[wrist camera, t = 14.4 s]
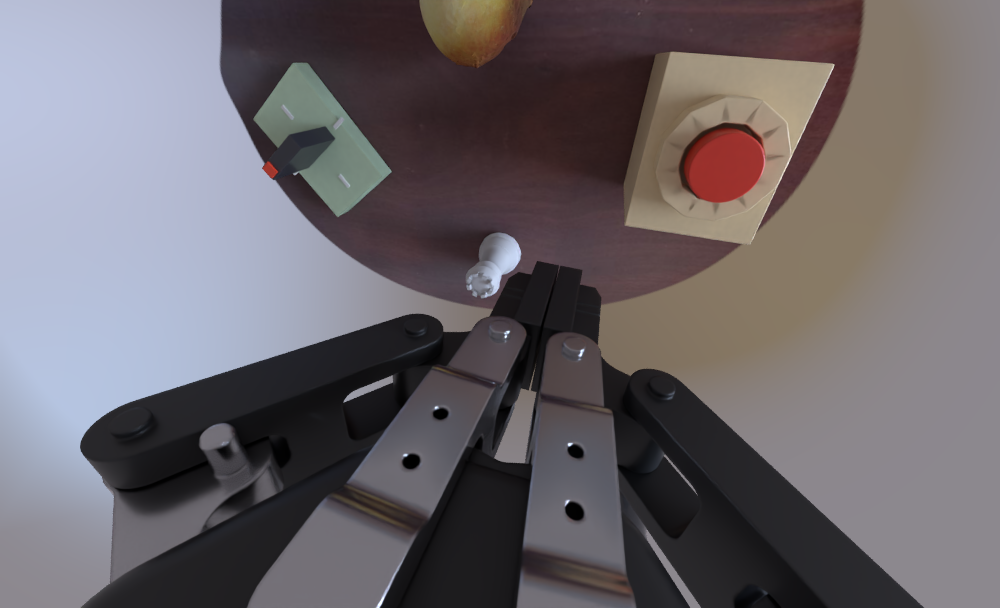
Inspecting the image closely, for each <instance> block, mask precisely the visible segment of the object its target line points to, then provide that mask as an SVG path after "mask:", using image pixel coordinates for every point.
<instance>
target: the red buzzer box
mask: <svg viewBox="0 0 1000 608" xmlns="http://www.w3.org/2000/svg"><path fill="white" fill-rule="evenodd" d="M833 67H834V64H829V63H815V62H802V61H789V60H775V59H762V58H749V57H736V56H722V55H709V54H696V53H683V52H665V53H658V54H656V55H655V59H654V63H653V67H652V71H651V76H650V80H649V84H648V88H647V92H646V96H645V100H644V104H643V108H642V112H641V116H640V120H639V124H638V128H637V133H636V137H635V141H634V145H633V149H632V153H631V157H630V161H629V165H628V169H627V173H626V177H625V181H624V222H625V226H631V227H638V228H644V229H651V230H657V231H663V232H670V233H676V234H683V235H689V236H695V237H702V238H708V239H715V240H721V241H727V242H734V243H740V244H747V245H750V244H751V242H752V240H753V238H754V235H755V233H756V231H757V229H758V227H759V225H760V223H761V221H762V218H763V216H764V214H765V212H766V210H767V208H768V206H769V204H770V201H771V199H772V197H773V195H774V193H775V191H776V189H777V186H778V184H779V182H780V180H781V178H782V176H783V174H784V172H785V169H786V167H787V165H788V163H789V161H790V159H791V157H792V155H793V152H794V150H795V148H796V146H797V144H798V142H799V140H800V137H801V135H802V133H803V131H804V129H805V127H806V125H807V123H808V120H809V118H810V116H811V114H812V112H813V110H814V108H815V106H816V103H817V101H818V99H819V97H820V95H821V93H822V91H823V89H824V86H825V84H826V82H827V80H828V78H829V76H830V74H831V71H832V69H833ZM722 128H734V129H738V130H741V131H743V132H745V133H747V134H748V135H750V136H752V137H753V138H755V139H756V140H757V141H758V142H759V143H760V145H761V146H762V148H763V150H764V154H765V166H764V170H763V173H762V175H761V177H760V179H759V180H758V182H757V183H756V184H755V186H754V187H753V188H752V189H751V190H750V191H748V192H747V193H746V194H744V195H743V196H741V197H739V198H737V199H735V200H732V201H728V202H723V203H713V202H708V201H705V200H703V199H701V198H699V197H698V196H697V195H696V194H695V193H694V192H693V191H692V189H691V188H690V186H689V184H688V182H687V180H686V178H685V174H684V163H685V159H686V156H687V154H688V152H689V150H690V149H691V147H692V146H693V145H694V144H695V143H696V142H697V141H698V140H699V139H700V138H701V137H703V136H704V135H706V134H707V133H709V132H712V131H714V130H717V129H722Z"/></svg>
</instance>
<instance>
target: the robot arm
mask: <svg viewBox="0 0 1000 608" xmlns="http://www.w3.org/2000/svg"><path fill="white" fill-rule="evenodd" d="M558 268H559V265H554V264H549V263H544V262H539V261H537V263H536V265H535V268H534V270H533V272H532V275H530V274H525V273H521V272H518V273H516V274H515V275H513V276H512V277H510V278H509V279H508V281H507V283H506V285H505V287H504V289H503V291H502V293H501V295H500V297H499V299H498V301H497V303H496V305H495V307H494V309H493V311H492V313H491V315H490V316H489V317H486V318H483V319H481V320H480V321H478V322H477V323H476V324H475V326H474V327H473V329H472V330H471V331H468V332H443V326H442V324H441V322H440V321H439V320H438V319H436V318H434V317H432V316H429V315H425V314H409V315H405V316H402V317H399V318H395V319H392V320H389V321H386V322H383V323H380V324H376V325H373V326H370V327H367V328H364V329H361V330H357V331H354V332H351V333H348V334H345V335H342V336H338V337H335V338H332V339H329V340H326V341H323V342H319V343H317V344H313V345H310V346H307V347H304V348H300V349H297V350H294V351H291V352H288V353H285V354H282V355H278V356H275V357H272V358H269V359H266V360H263V361H259V362H256V363H253V364H250V365H247V366H244V367H240V368H237V369H234V370H231V371H228V372H225V373H221V374H218V375H215V376H212V377H209V378H205V379H202V380H199V381H196V382H193V383H190V384H187V385H184V386H180V387H177V388H174V389H171V390H168V391H164V392H161V393H158V394H155V395H152V396H148V397H145V398H142V399H139V400H136V401H133V402H130V403H127V404H125V405H123V406H120V407H118V408H116V409H114V410H113V411H111V412H109V413H107V414H106V415H104V416H103V417H101V418H100V419H99V420H98V421H96V422H95V423H94V424H93V425H92V426H91V427H90V428H89V429H88V430H87V432H86V433H85V435H84V436H83V438H82V440H81V445H80V449H81V452H82V453H83V455H84V456H85V458H86V459H87V460H88V461H89V462H90V463H91V465H92V466H93V467H94V468H95V469H96V470H97V471H98V472H99V474H100V475H101V476H102V479H103V483H104V484H105V485H106V487H107V488H108V489H109V490H110V491H111V493H112V494H113V495H114V508H113V530H112V552H111V573H110V574H111V575H110V584H109V585H107V586H106V587H105V588H103V589H102V590H101V591H100V592H99V593H97V594H96V595H95V596H93V597H92V598H91V599H90V600H89V601H88V602H86V603H85V604H84V605H83V606H82V607H81V608H690V607H689V605H688V603H687V602H686V600H685V599H684V597H683V596H682V594H681V592H680V591H679V589H678V588H677V586H676V585H675V583H674V582H673V580H672V579H671V577H670V575H669V574H668V572H667V571H666V569H665V568H664V566H663V564H662V563H661V561H660V560H659V558H658V557H657V555H656V553H655V552H654V551H653V549H652V547H651V546H650V544H649V543H648V541H647V534H646V529H647V530H648V531H649V533H650V534H651V536H652V537H653V539H654V540H655V542H656V543H657V544H658V546H659V547H660V549H661V550H662V552H663V553H664V555H665V556H666V557H667V559H668V560H669V562H670V563H671V565H672V566H673V567H674V569H675V570H676V572H677V573H678V575H679V576H680V578H681V579H682V581H683V582H684V583H685V585H686V586H687V588H688V589H689V591H690V592H691V593H692V595H693V596H694V598H695V599H696V601H697V602H698V604H699V605H700V606H701V608H924V607H923V606H922V605H920V604H919V603H918V602H917V601H916V600H915V599H914V598H913V597H912V596H911V595H910V594H909V593H907V591H905V590H904V589H903V588H902V587H901V586H900V585H899V584H898V583H897V582H896V581H894V580H893V579H892V578H891V577H890V576H889V575H888V574H887V573H886V572H885V571H884V570H883V569H882V568H880V566H879V565H877V564H876V563H875V562H874V561H873V560H872V559H871V558H870V557H869V556H868V555H867V554H866V553H865V552H863V551H862V550H861V549H860V548H859V547H858V546H857V545H856V544H855V543H854V542H853V541H852V540H851V539H849V538H848V537H847V536H846V535H845V534H844V533H843V532H842V531H841V530H840V529H839V528H838V527H837V526H836V525H834V524H833V523H832V522H831V521H830V520H829V519H828V518H827V517H826V516H825V515H824V514H823V513H821V512H820V511H819V510H818V509H817V508H816V507H815V506H814V505H813V504H812V503H811V502H810V501H809V500H807V498H805V497H804V496H803V495H802V494H801V493H800V492H799V491H798V490H797V489H796V488H795V487H793V485H791V484H790V483H789V482H788V481H787V480H786V479H785V478H784V477H783V476H782V475H781V474H780V473H779V472H777V471H776V470H775V469H774V468H773V467H772V466H771V465H770V464H769V463H768V462H767V461H766V460H765V459H764V458H762V457H761V456H760V455H759V454H758V453H757V452H756V451H755V450H754V449H753V448H752V447H751V446H749V445H748V444H747V443H746V442H745V441H744V440H743V439H742V438H741V437H740V436H739V435H737V433H735V432H734V431H733V430H732V429H731V428H730V427H729V426H728V425H727V424H726V423H725V422H724V421H723V420H721V419H720V418H719V417H718V416H717V415H716V414H715V413H714V412H713V411H712V410H711V409H710V408H709V407H707V405H705V404H704V403H703V402H702V401H701V400H700V399H699V398H698V397H697V396H696V395H695V394H694V393H692V392H691V391H690V390H689V389H688V388H687V387H686V386H685V385H684V384H683V383H682V382H680V381H679V380H678V379H677V378H675V377H673V376H672V375H670V374H668V373H665V372H663V371H659V370H655V369H641V370H638V371H636V372H634V373H633V374H632V375H631V376H629V375H627V374H625V373H623V372H621V371H619V370H617V369H615V368H614V367H612V366H610V365H609V364H608V363H607V362H606V361H605V360H604V359H603V358H602V357H601V351H600V349H599V347H598V336H599V322H600V308H601V296H600V295H599V293H598V291H597V290H596V288H593V287H588V286H584V285H580V281H581V275H582V270H579V269H574V268H569V267H565V266H560V270H559V273H558ZM557 273H558V277H557ZM556 278H557V280H556ZM555 283H556V284H555ZM536 361H537V362H536ZM535 365H536V367H535ZM534 369H535V372H534ZM533 372H534V377H533V382H532V388H531V390H532V391H535V392H537V393H536V398H535V403H534V408H533V412H532V418H531V425H530V432H529V439H528V445H527V452H526V459H525V463H506V462H501V461H498V460H496V459H494V457H495V454H496V452H497V450H498V447H499V445H500V442H501V440H502V437H503V435H504V432H505V430H506V428H507V425H508V423H509V420H510V418H511V415H512V413H513V410H514V406H515V402H516V400H517V399H518V396H519V393H520V389H521V388H522V389H526V390H529V387H530V383H531V380H532V376H533ZM391 375H393V383H391V384H388V385H386V386H383V387H381V388H379V389H376V390H374V391H371V392H369V393H366V394H364V395H362V396H359V397H357V398H354V399H352V400H350V401H347V402H344V400H345V398H346V397H347V396H348V395H349V394H350V393H351V392H353V391H355V390H357V389H359V388H361V387H364V386H367V385H369V384H372V383H374V382H376V381H379V380H382V379H384V378H387V377H389V376H391ZM343 402H344V403H343ZM665 454H666V455H667V457H668V458H669V459H670V460H671V461H672V462H673V464H674V465H675V466H676V467H677V468H678V469H679V471H680V472H681V473H682V474H683V475H684V476H685V478H686V479H687V480H688V481H689V482H690V483H691V485H692V486H693V487H694V489H695V490H696V493H697V494H696V493H695V492H694V491H693V490H692V488H691V487H690V486H689V485H688V484H687V483H686V482H685V480H684V479H683V478H682V477H681V476H680V474H679V473H678V472H677V471H676V470H675V469H674V467H673V466H672V465H671V464H670V463H669V462H668V460H667V459H666V458H665V457H664V455H665ZM697 495H698V496H697Z"/></svg>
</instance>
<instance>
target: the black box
mask: <svg viewBox="0 0 1000 608" xmlns="http://www.w3.org/2000/svg"><path fill="white" fill-rule="evenodd" d="M334 140H335V137H334V136H333V135H332V134H331V132H330V131H329V130H328V129H327V127H326V126H324V127H320V128H316V129H311V130H307V131H302V132H298V133H294V134H289V135H288V137H287V138H286V139H285V140H284V141H283V143H282V144H281V145H280V146H279V148H278V149H277V150H276V151H275V153H274V154H273V155H272V156H271V157H270V159H269V160H268V161H267V162H266V164H265V165H264V166H263V168H262V169H263V170H264V171H265V172H266V173H267V174H268V175H269V176H270V178H272V179H273V180H276V179H278V178H281V177H284V176H287V175H290V174H293V173H296V172H298V171H301V170H304V169H307V168H309V167H310V166H311V165H312V164H313V163H314V162H315V161H316V160H317V158H318V157H319V156H320V155H321V154H322V153H323V152H324V151H325V150H326V149H327V148H328V147H329V145H330V144H331V143H332V142H333V141H334Z"/></svg>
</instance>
